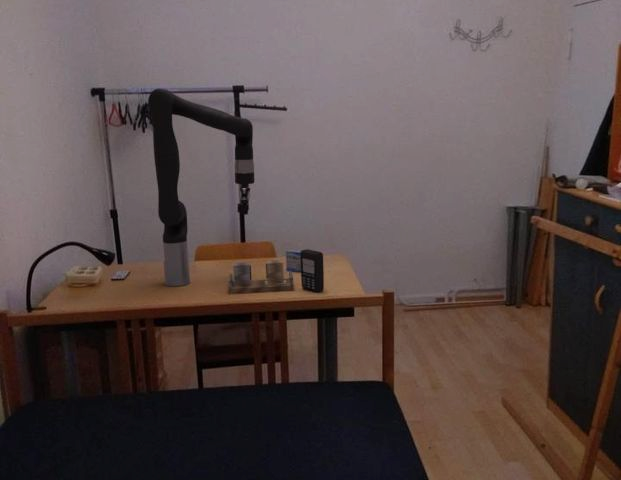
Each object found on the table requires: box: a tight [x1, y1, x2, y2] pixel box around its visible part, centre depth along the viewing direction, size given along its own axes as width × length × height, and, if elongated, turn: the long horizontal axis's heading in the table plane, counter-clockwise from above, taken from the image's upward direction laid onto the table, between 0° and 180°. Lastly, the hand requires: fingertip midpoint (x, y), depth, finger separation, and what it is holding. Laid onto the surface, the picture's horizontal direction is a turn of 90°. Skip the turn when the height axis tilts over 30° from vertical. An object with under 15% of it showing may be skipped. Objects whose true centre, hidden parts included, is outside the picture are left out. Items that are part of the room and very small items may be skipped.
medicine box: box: [285, 249, 301, 273], centre depth 248 cm, size 8×4×9 cm, turn 62°
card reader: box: [300, 248, 325, 293], centre depth 219 cm, size 9×4×15 cm, turn 44°
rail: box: [227, 262, 295, 295], centre depth 224 cm, size 24×10×10 cm, turn 95°
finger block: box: [265, 259, 285, 284], centre depth 224 cm, size 6×4×8 cm, turn 95°
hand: (245, 212), depth 231 cm, fingers open, 8 cm apart
